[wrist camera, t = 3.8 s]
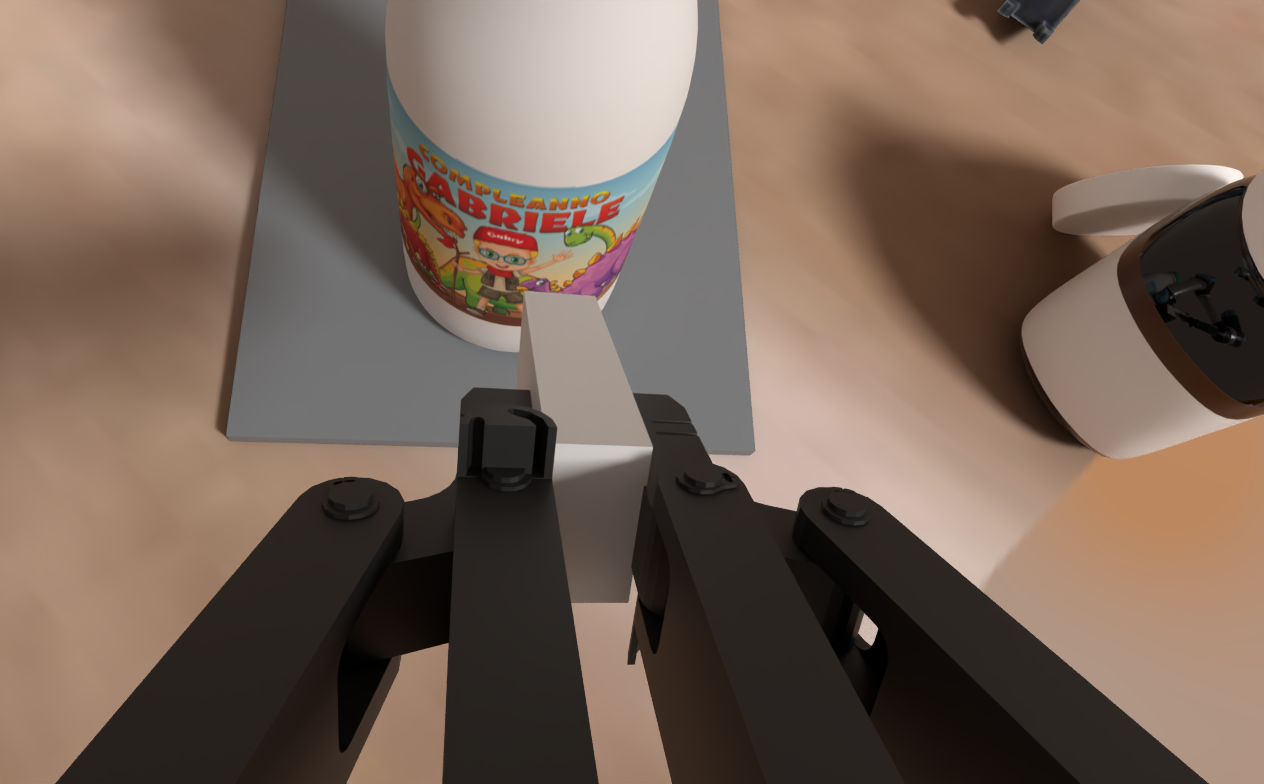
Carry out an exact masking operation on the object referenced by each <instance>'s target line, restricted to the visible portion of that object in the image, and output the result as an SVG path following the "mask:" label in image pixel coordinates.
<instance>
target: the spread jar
mask: <svg viewBox="0 0 1264 784" xmlns="http://www.w3.org/2000/svg"><path fill="white" fill-rule="evenodd" d="M1052 226H1053V228H1054V229H1055V230H1057V231H1059V232H1063V233H1067V234H1074V235H1085V236H1122V235H1137V236H1136V237H1134V238H1133V239H1131V240H1130V241H1128V242H1127V243H1125V244H1124V245H1122V246H1121V247H1119V248H1118V249H1116V250H1115V251H1113V252H1112V253H1110V254H1109V255H1107V256H1106V257H1104V258H1103V259H1101V260H1100V261H1098V262H1097V263H1095V264H1094V265H1092V266H1090V267H1089V268H1087V269H1086V270H1084V271H1083V272H1081V273H1080V274H1078V275H1077V276H1075V277H1074V278H1072V279H1071V280H1069V281H1068V282H1066V283H1065V284H1063V285H1062V286H1060V287H1059V288H1057V289H1056V290H1055V291H1053V292H1052V293H1051V294H1049V295H1048V296H1047V297H1045V298H1044V299H1043V300H1042V301H1040V302H1039V303H1038V304H1037V305H1036V306H1035V307H1034V308H1032V309H1031V311H1030V312H1029V313H1028V314H1027V316H1026V317H1025V319H1024V321H1023V323H1022V325H1021V328H1020V332H1019V341H1020V347H1021V353H1022V357H1023V360H1024V363H1025V366H1026V369H1027V371H1028V374H1029V376H1030V379H1031V381H1032V383H1033V385H1034V387H1035V389H1036V390H1037V392H1038V394H1039V396H1040V397H1041V399H1042V400H1043V402H1044V403H1045V405H1046V406H1047V408H1048V409H1049V410H1050V412H1051V413H1052V414H1053V416H1054V417H1055V418H1056V419H1057V420H1058V421H1059V423H1060V424H1061V425H1062V426H1063V427H1064V428H1065V429H1066V430H1067V431H1068V432H1069V433H1070V434H1071V435H1072V436H1073V437H1075V438H1076V439H1077V440H1078V441H1079V442H1081V443H1082V444H1083V445H1085V446H1086V447H1087V448H1089V449H1090V450H1092V451H1093V452H1095V453H1097V454H1099V455H1101V456H1104V457H1109V458H1114V459H1126V458H1132V457H1137V456H1141V455H1145V454H1148V453H1151V452H1155V451H1158V450H1161V449H1165V448H1167V447H1170V446H1173V445H1176V444H1179V443H1182V442H1185V441H1188V440H1191V439H1194V438H1196V437H1200V436H1202V435H1205V434H1208V433H1211V432H1214V431H1217V430H1220V429H1223V428H1227V427H1229V426H1232V425H1235V424H1238V423H1241V422H1244V421H1247V420H1250V419H1252V418H1255V417H1258V416H1260V415H1263V414H1264V170H1262V171H1261V172H1260V173H1258V174H1257V175H1253V176H1250V177H1246V178H1243V174H1242V173H1241V172H1240V171H1238V170H1236V169H1234V168H1229V167H1224V166H1215V165H1168V166H1156V167H1146V168H1138V169H1130V170H1125V171H1119V172H1113V173H1108V174H1103V175H1099V176H1094V177H1091V178H1087V179H1083V180H1080V181H1077V182H1074V183H1071V184H1069V185H1066V186H1064V187H1062V188H1060V189H1059V190H1057V191H1056V192H1055V193H1054V195H1053V197H1052ZM1138 234H1139V235H1138Z"/></svg>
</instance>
